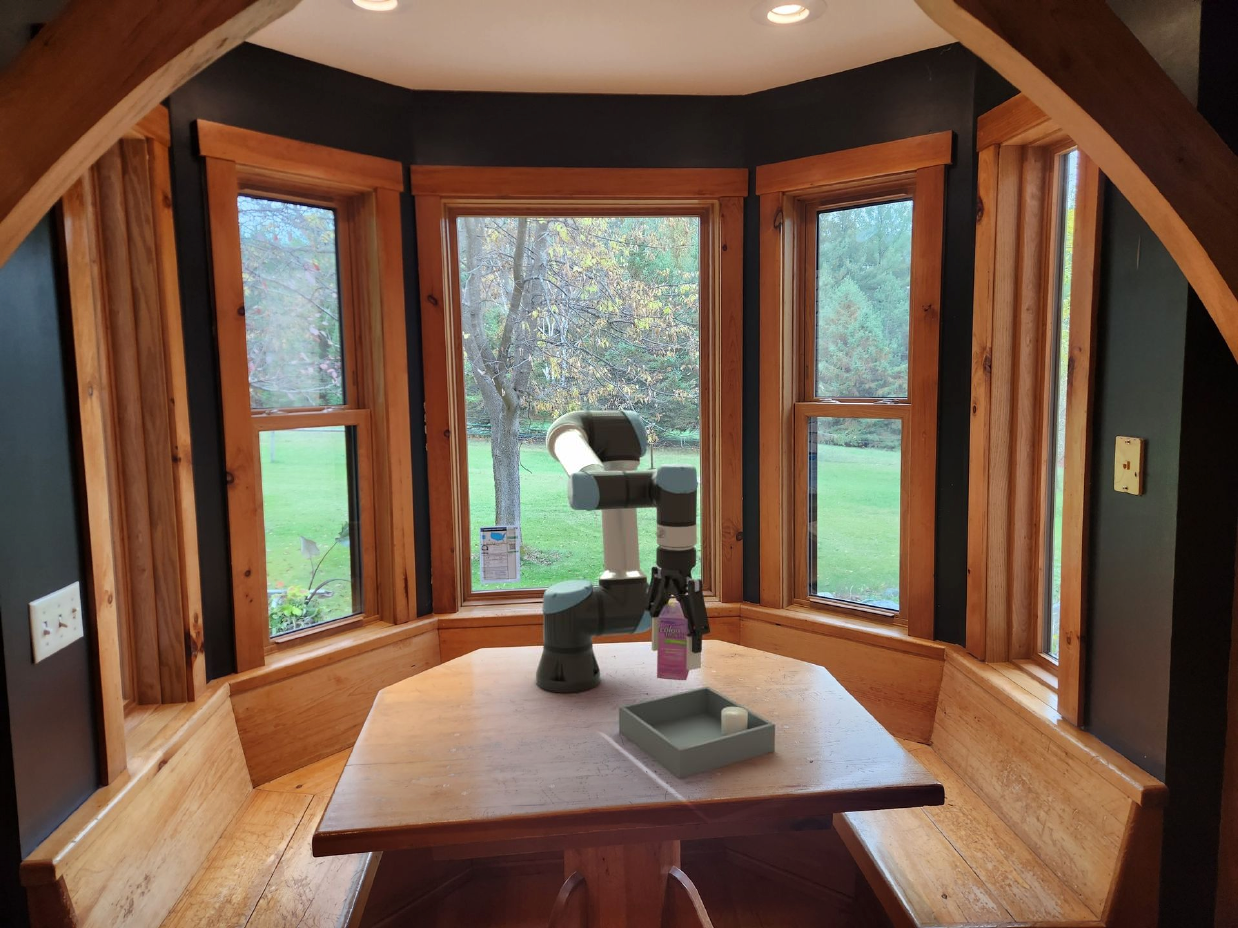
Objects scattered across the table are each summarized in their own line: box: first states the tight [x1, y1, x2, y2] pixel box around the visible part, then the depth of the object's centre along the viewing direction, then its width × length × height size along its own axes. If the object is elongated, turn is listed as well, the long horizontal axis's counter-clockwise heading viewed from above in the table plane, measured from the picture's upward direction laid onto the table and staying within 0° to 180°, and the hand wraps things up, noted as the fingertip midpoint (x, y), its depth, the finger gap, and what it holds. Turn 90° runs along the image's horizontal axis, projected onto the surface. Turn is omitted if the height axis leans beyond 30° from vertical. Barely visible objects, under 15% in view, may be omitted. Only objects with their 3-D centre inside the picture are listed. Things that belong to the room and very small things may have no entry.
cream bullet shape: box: [721, 707, 748, 737], centre depth 151 cm, size 5×5×6 cm
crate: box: [618, 686, 776, 780], centre depth 151 cm, size 22×22×6 cm
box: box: [656, 601, 690, 681], centre depth 148 cm, size 10×6×12 cm, turn 168°
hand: (675, 658), depth 149 cm, fingers closed on box, 11 cm apart
